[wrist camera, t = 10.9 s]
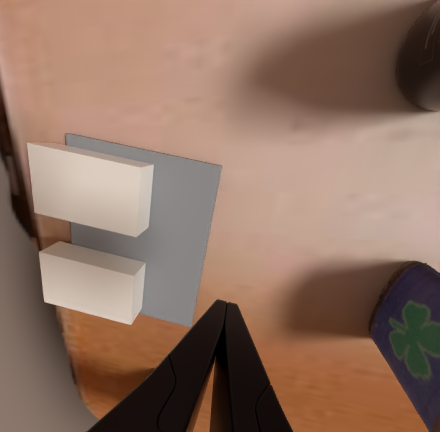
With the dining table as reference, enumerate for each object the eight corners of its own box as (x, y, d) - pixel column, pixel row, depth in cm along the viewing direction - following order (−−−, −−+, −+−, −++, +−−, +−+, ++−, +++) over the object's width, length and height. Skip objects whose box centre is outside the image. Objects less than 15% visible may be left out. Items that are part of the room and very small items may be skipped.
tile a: (130, 325, 22) (44, 301, 23) (142, 307, 25) (63, 286, 25) (133, 276, 20) (38, 251, 21) (146, 261, 23) (60, 240, 23)
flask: (388, 341, 22) (497, 503, 12) (358, 333, 23) (443, 487, 13) (436, 263, 19) (635, 397, 9) (401, 255, 19) (559, 378, 9)
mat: (192, 323, 25) (190, 327, 25) (77, 293, 26) (74, 296, 26) (221, 165, 19) (221, 166, 19) (70, 133, 20) (65, 133, 19)
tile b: (136, 237, 19) (34, 212, 20) (149, 226, 21) (57, 204, 22) (140, 167, 17) (26, 142, 18) (154, 164, 19) (53, 142, 20)
